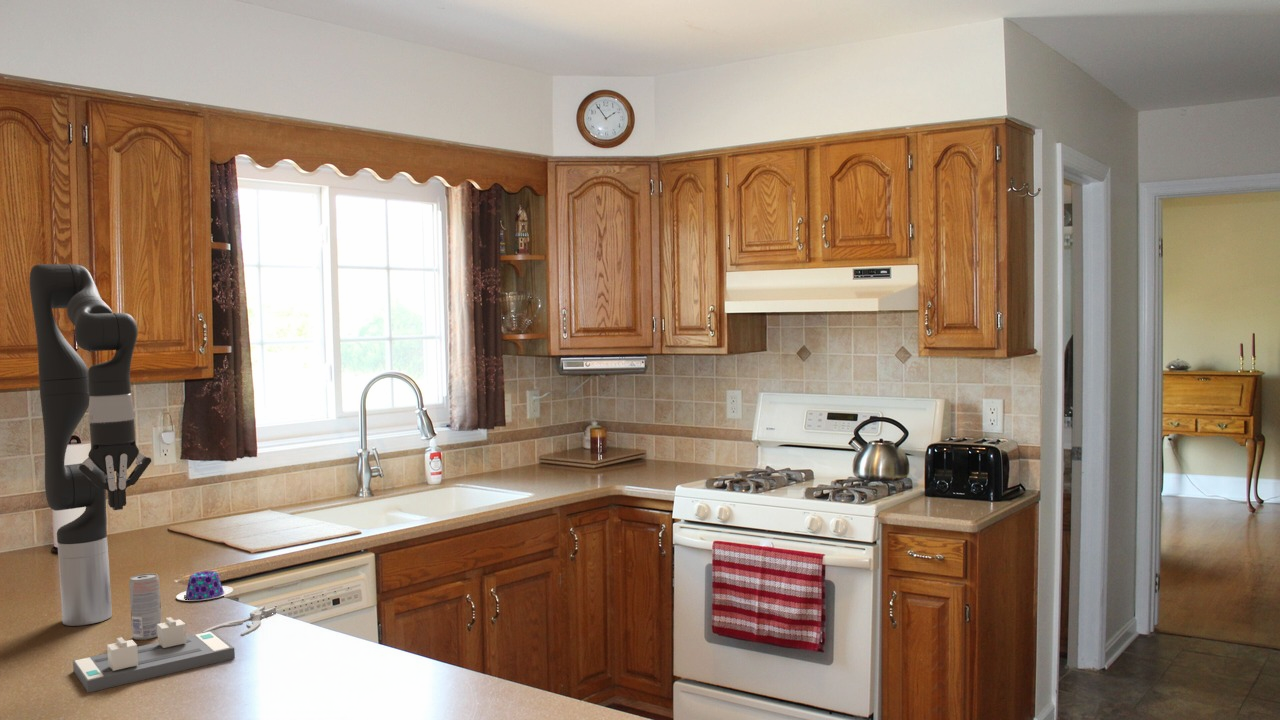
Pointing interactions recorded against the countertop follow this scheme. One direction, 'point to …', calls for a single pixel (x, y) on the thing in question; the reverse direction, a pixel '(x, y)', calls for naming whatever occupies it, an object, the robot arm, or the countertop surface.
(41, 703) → the countertop surface
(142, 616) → the energy drink
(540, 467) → the countertop surface
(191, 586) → the pudding
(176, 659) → the switch panel
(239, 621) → the pliers
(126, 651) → the tab
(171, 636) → the tab
